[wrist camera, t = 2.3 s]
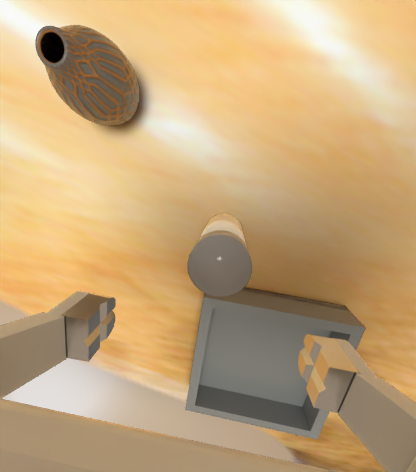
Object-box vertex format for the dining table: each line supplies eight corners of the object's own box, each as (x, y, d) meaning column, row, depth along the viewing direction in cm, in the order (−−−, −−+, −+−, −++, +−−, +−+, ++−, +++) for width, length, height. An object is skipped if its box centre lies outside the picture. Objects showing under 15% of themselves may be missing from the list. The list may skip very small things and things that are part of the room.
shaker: (245, 216, 24) (258, 243, 14) (238, 252, 25) (245, 301, 15) (208, 210, 24) (191, 231, 14) (202, 245, 26) (184, 290, 15)
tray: (345, 306, 26) (365, 327, 22) (306, 407, 31) (317, 439, 27) (207, 280, 27) (203, 296, 23) (190, 382, 32) (185, 409, 28)
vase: (161, 104, 22) (118, 54, 13) (117, 145, 24) (54, 124, 15) (120, 45, 21) (46, -49, 12) (76, 92, 22) (-15, 38, 14)
